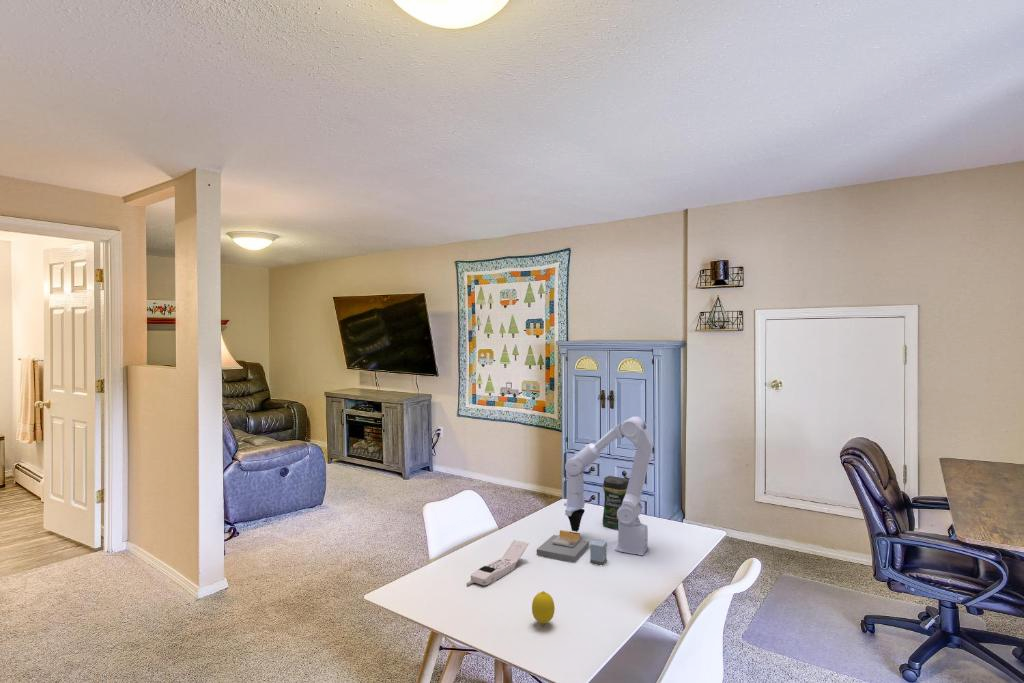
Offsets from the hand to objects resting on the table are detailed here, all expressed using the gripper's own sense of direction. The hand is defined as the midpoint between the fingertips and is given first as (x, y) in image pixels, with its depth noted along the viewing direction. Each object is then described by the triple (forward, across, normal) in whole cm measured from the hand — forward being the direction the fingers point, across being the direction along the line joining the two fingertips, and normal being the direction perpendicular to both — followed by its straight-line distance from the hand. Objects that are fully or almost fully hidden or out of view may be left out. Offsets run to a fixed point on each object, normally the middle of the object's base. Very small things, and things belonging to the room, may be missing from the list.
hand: (575, 530), depth 186 cm
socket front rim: (+3, +5, 0) cm, 6 cm away
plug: (+3, +15, +13) cm, 20 cm away
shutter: (+1, +9, 0) cm, 9 cm away
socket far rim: (+3, +9, -5) cm, 10 cm away
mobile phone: (+4, +36, -11) cm, 37 cm away
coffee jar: (+3, -20, +9) cm, 22 cm away
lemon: (+3, +57, +12) cm, 58 cm away
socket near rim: (+3, +9, +5) cm, 10 cm away
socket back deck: (+3, +15, 0) cm, 16 cm away
